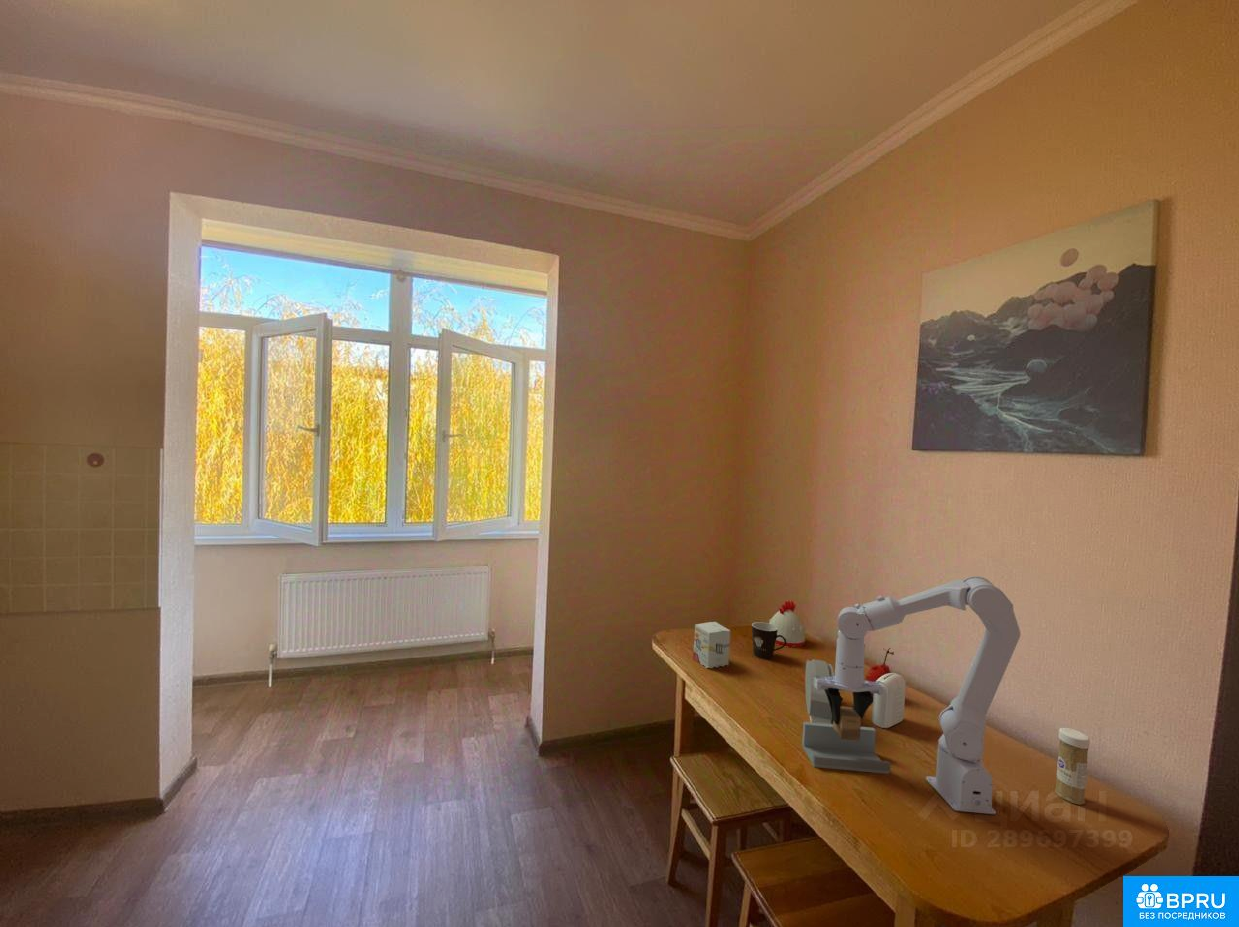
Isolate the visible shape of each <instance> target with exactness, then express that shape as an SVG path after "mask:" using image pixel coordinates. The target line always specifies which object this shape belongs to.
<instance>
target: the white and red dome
mask: <svg viewBox="0 0 1239 927" xmlns="http://www.w3.org/2000/svg"><path fill="white" fill-rule="evenodd" d="M795 608H796V603H794V600H787V601H785V600H784V604H781V607H779V608H778V609H779V610H778V611H777V612H776V613H775V614H774V615H773V616H772V618H769V620H768V623H769V624H772V625H775V626H776V627H777V628H778V631H777V635H782V636H783V637H784V638H785V639H786V645H785V646H788V647H787V648H791V647H797V648H801V647H800V646H802V645H804V644H806V638H805V627H804V626H803V624H802V622H801V620H800V618H799V616H798V615H797V614H796V613H795V612H794V611H795ZM775 643H776V644H775V645H777V644H779V645H778V646H780V645H784V643H785V642H784V639H783V638H782V637H777V639H776V642H775ZM804 646H805V645H804ZM802 647H803V646H802Z"/></svg>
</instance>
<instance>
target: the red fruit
mask: <svg viewBox="0 0 1239 927" xmlns="http://www.w3.org/2000/svg"><path fill="white" fill-rule="evenodd" d="M882 650H884V651H885V656H884V657H883V663H882V664H873V665H872V664H871V666H870V669H869V670H868V671H867V673H866V675H865V676H864V680H865V681H870V682H876V681H877V680H878V679H879V678H880V677H881V676H883V675H885V674H889V673H892V672H891V670H890V666H888V665H887V664H886V661H887V657H888V654H889V655H891V656H894V653H895V652H894V651H890V650H891V647H889V648H888V649H886V648H883V649H882ZM873 694H874V693H871V696H872V697H873Z"/></svg>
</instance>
